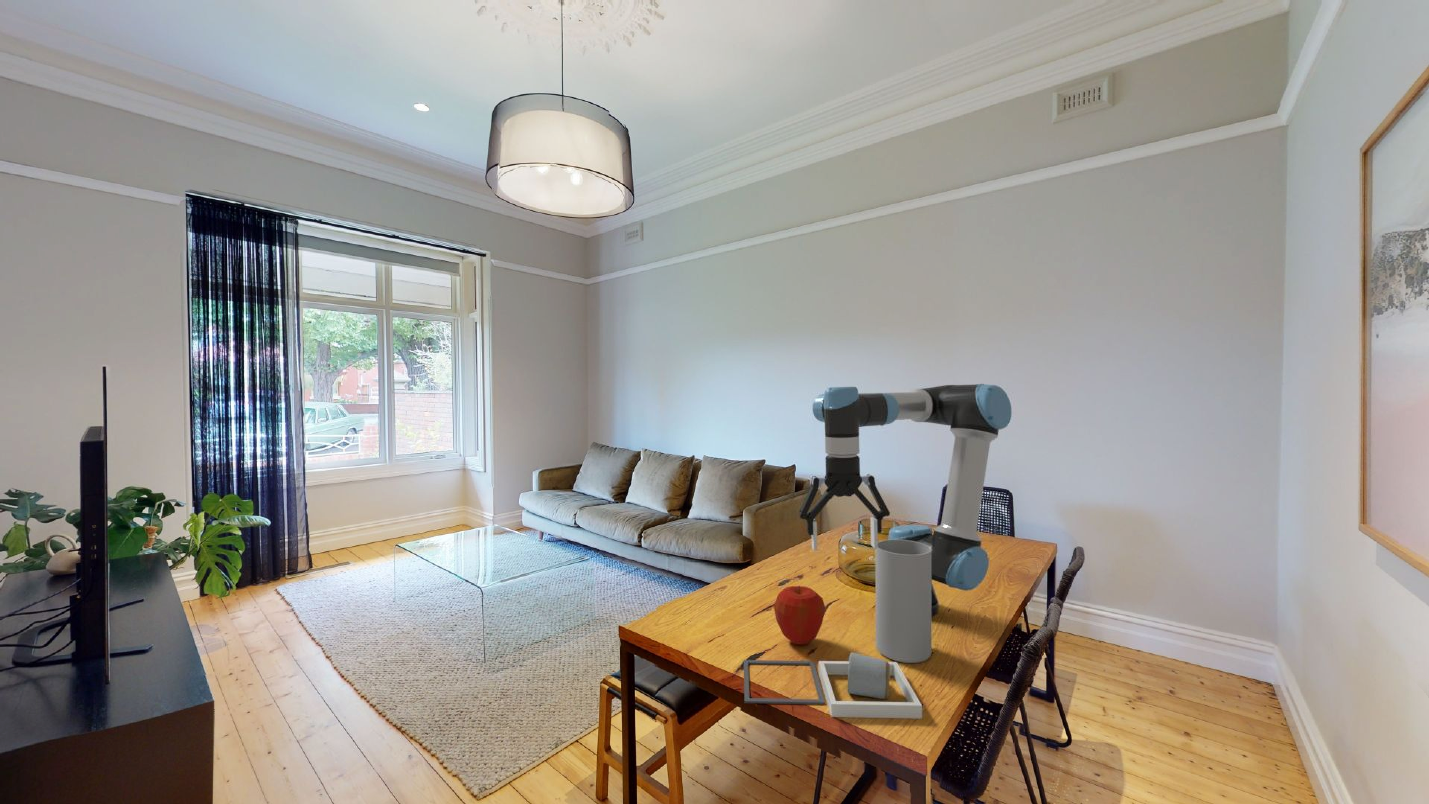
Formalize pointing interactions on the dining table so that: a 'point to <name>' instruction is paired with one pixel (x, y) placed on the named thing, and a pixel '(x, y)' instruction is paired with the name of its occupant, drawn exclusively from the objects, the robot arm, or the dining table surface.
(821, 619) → the apple
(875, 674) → the ceramic mug
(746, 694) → the tray outline
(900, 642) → the cylinder vase
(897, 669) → the socket
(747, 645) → the dining table surface
